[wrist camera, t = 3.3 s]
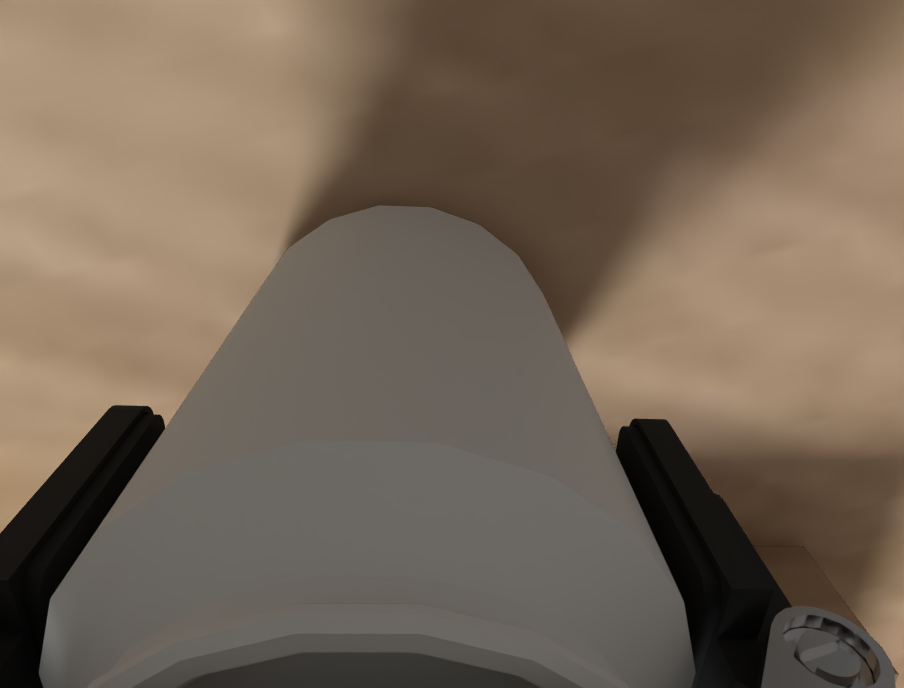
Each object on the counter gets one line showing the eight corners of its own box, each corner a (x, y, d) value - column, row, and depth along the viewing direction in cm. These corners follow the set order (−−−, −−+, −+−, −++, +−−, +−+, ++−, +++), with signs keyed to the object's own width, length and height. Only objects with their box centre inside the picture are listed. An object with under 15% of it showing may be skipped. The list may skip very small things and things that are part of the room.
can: (248, 437, 18) (-24, 1042, 7) (271, 167, 15) (-151, 507, 4) (509, 475, 19) (622, 1068, 8) (581, 228, 16) (923, 643, 5)
